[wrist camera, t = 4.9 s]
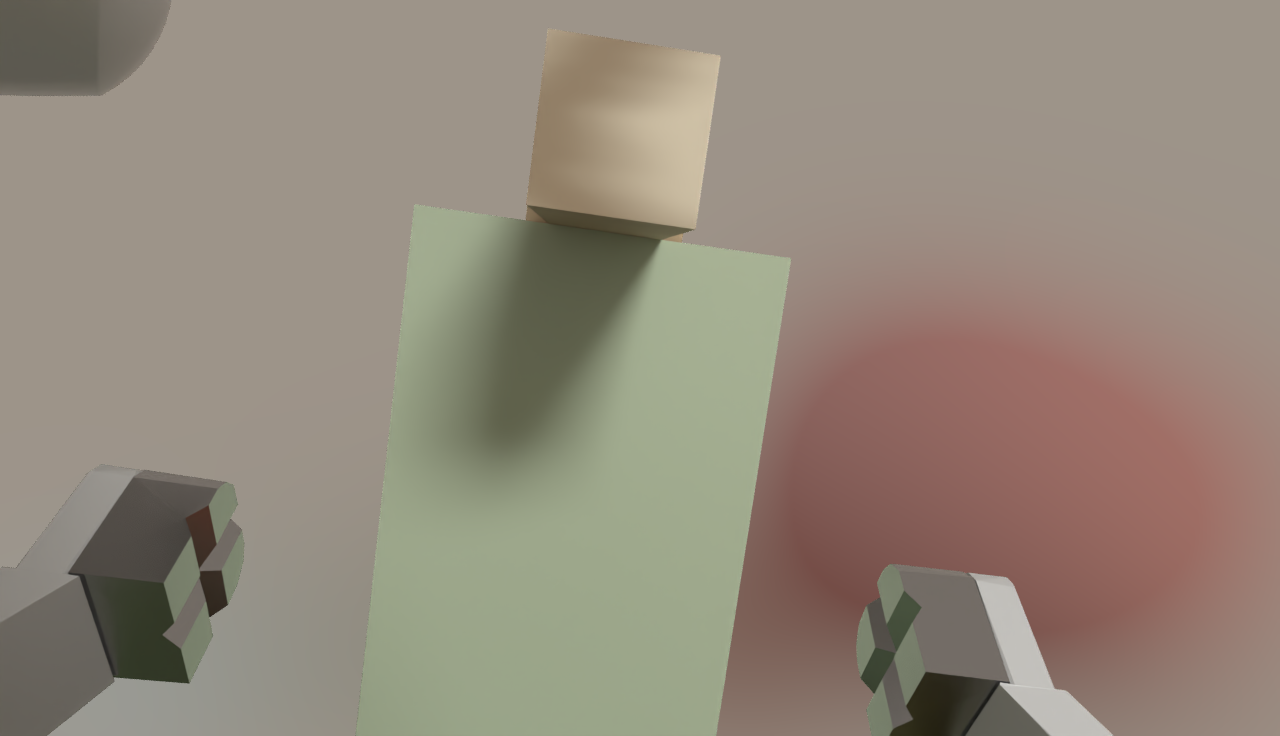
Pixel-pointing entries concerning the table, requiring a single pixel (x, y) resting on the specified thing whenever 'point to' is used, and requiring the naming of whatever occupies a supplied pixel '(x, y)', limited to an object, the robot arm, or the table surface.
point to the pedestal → (566, 480)
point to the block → (621, 136)
